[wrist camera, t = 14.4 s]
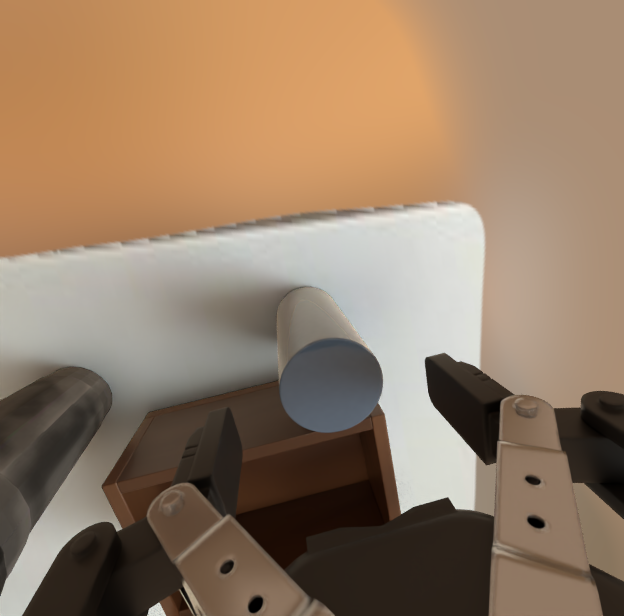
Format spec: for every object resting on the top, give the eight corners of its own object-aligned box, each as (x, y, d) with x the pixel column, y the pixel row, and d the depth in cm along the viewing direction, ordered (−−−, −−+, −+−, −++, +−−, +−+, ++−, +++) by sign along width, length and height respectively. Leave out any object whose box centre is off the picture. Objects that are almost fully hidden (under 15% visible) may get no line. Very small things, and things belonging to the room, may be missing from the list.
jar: (284, 351, 23) (292, 444, 14) (269, 294, 22) (267, 352, 13) (342, 337, 24) (390, 419, 14) (331, 280, 22) (375, 327, 13)
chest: (148, 412, 24) (100, 486, 17) (354, 361, 24) (384, 413, 18) (194, 525, 27) (169, 624, 20) (376, 477, 28) (408, 557, 21)
